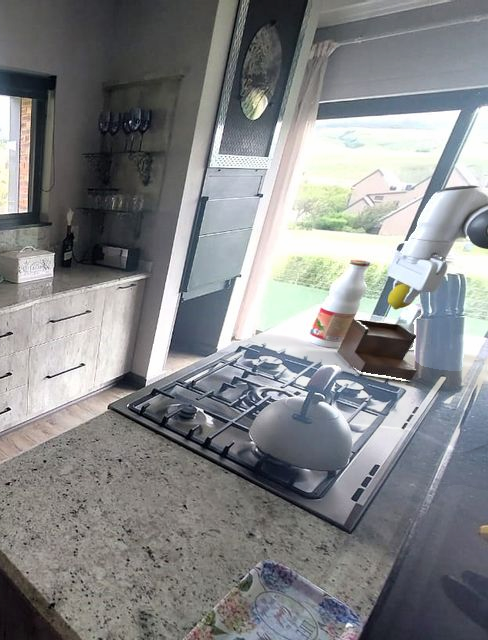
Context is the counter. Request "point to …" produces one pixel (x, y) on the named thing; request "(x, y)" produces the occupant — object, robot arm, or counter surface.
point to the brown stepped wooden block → (378, 348)
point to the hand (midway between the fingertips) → (400, 299)
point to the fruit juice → (340, 306)
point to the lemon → (398, 296)
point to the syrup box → (409, 317)
